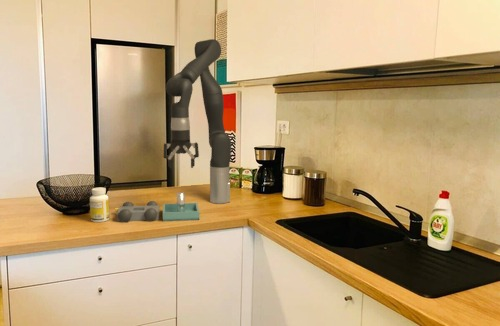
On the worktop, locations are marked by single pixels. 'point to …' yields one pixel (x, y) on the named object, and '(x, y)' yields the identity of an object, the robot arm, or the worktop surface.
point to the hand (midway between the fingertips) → (181, 168)
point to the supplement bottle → (99, 205)
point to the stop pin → (180, 202)
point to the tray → (173, 215)
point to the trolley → (137, 212)
